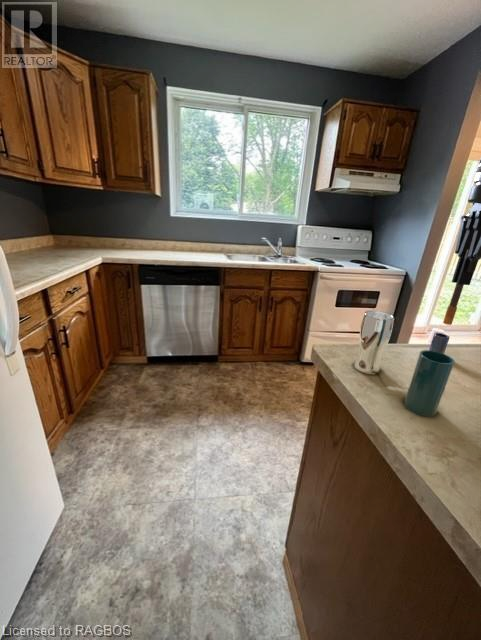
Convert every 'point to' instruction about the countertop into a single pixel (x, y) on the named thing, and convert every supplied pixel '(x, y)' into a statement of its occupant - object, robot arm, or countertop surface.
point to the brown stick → (453, 303)
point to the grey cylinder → (439, 342)
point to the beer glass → (373, 340)
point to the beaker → (428, 382)
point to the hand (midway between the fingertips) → (460, 283)
